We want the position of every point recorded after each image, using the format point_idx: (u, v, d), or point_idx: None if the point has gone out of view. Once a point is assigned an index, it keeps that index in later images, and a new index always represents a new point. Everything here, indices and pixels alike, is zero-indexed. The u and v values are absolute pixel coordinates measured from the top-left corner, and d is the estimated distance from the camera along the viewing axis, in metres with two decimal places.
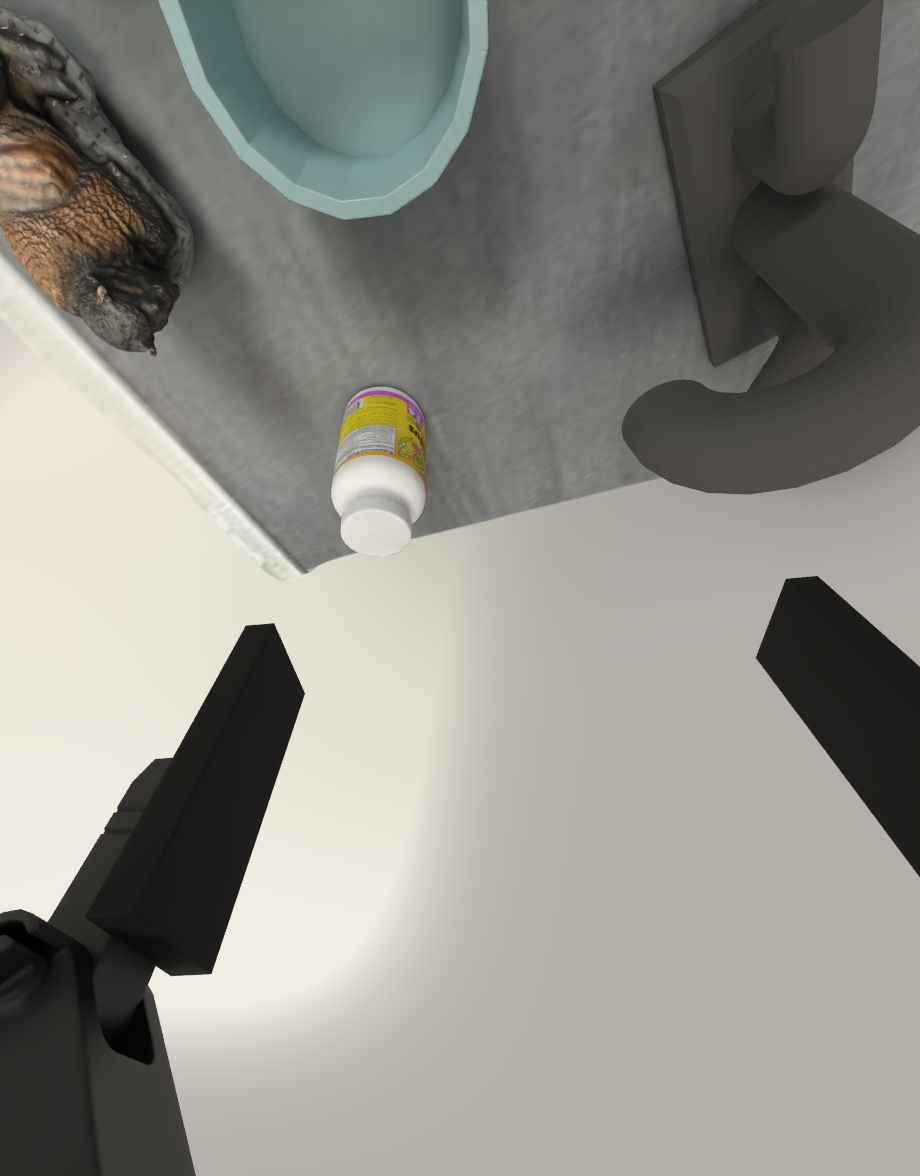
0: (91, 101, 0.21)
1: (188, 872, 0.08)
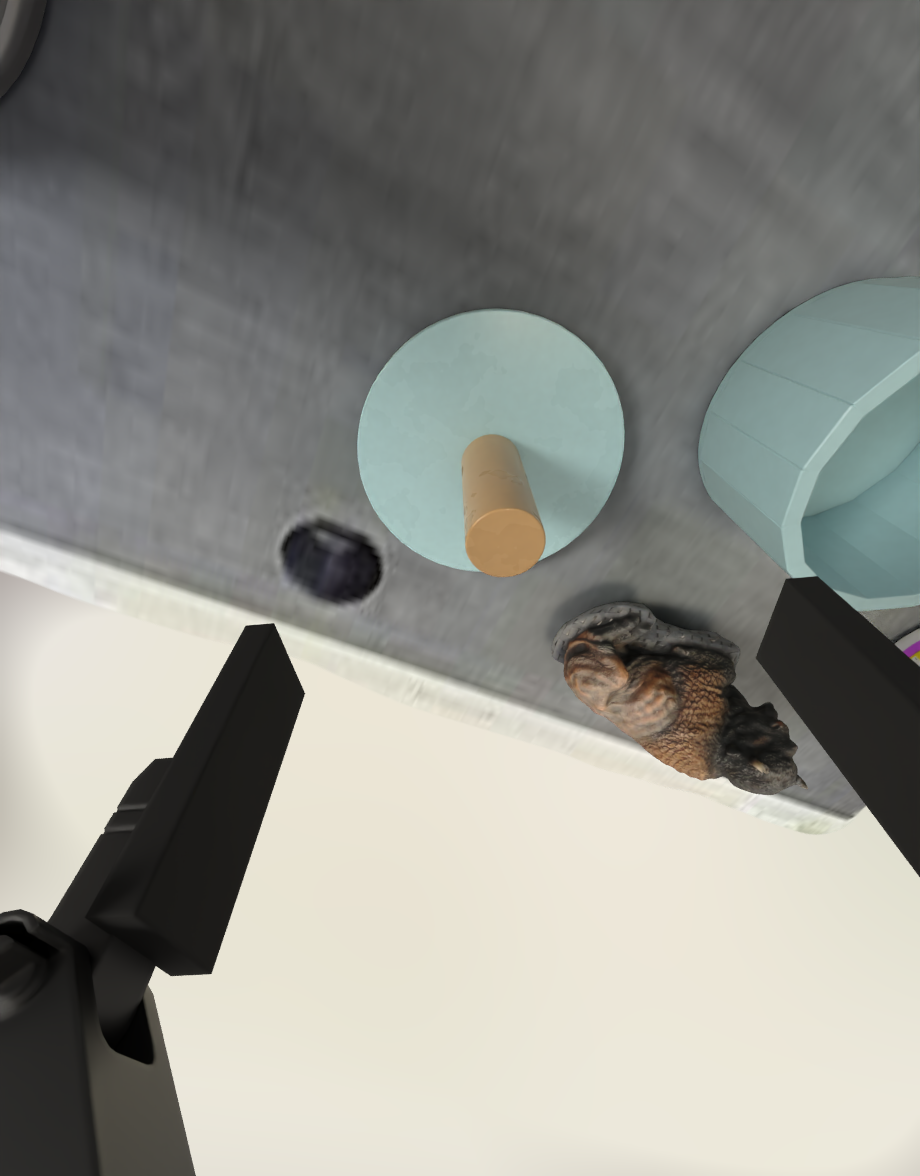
0: (654, 622, 0.26)
1: (188, 873, 0.08)
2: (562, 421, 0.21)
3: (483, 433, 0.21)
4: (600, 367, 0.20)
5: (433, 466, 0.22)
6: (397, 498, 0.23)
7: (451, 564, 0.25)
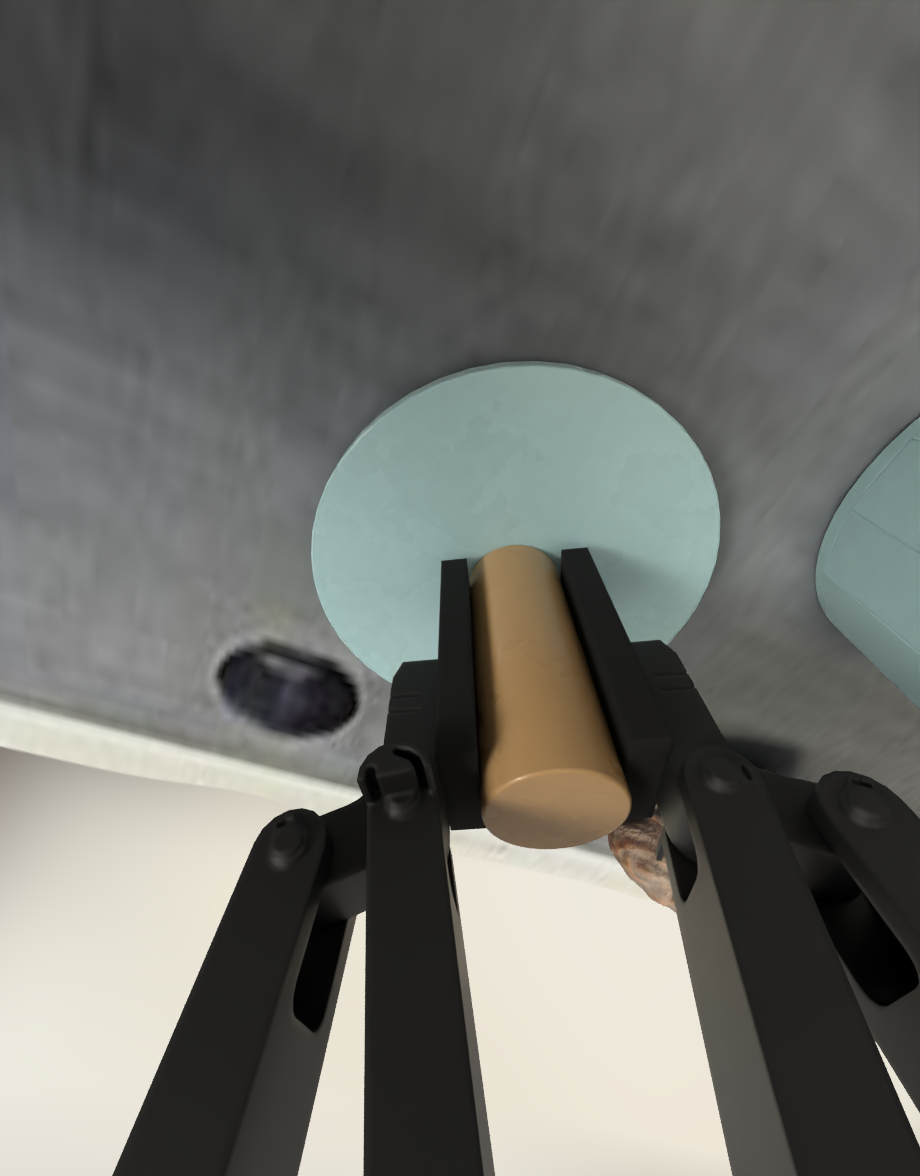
0: None
1: (477, 738, 0.10)
2: (625, 527, 0.14)
3: (503, 543, 0.14)
4: (693, 451, 0.12)
5: (427, 586, 0.15)
6: (374, 626, 0.16)
7: None
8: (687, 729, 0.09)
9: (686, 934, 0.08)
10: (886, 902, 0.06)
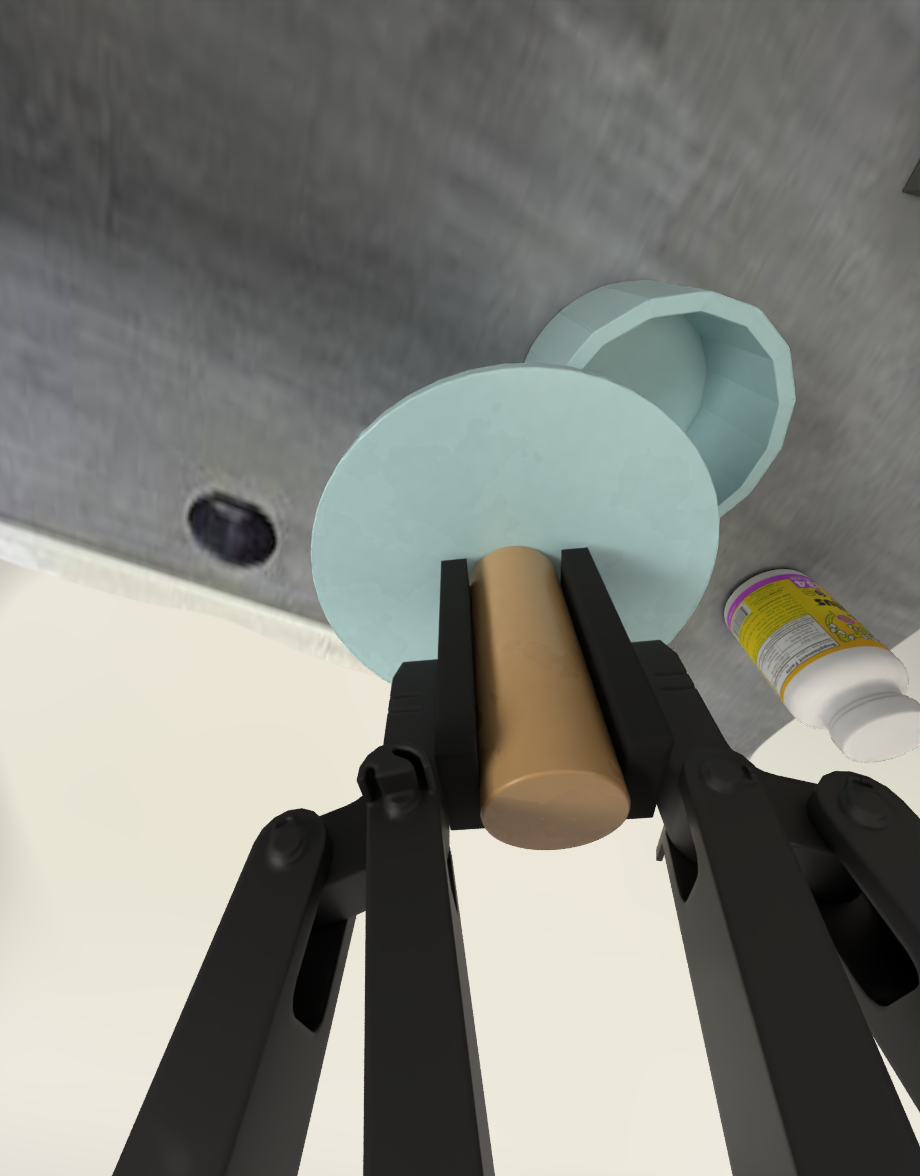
0: None
1: (477, 738, 0.10)
2: (625, 528, 0.14)
3: (503, 544, 0.14)
4: (692, 453, 0.12)
5: (427, 587, 0.15)
6: (374, 627, 0.16)
7: None
8: (687, 729, 0.09)
9: (686, 934, 0.08)
10: (886, 902, 0.06)
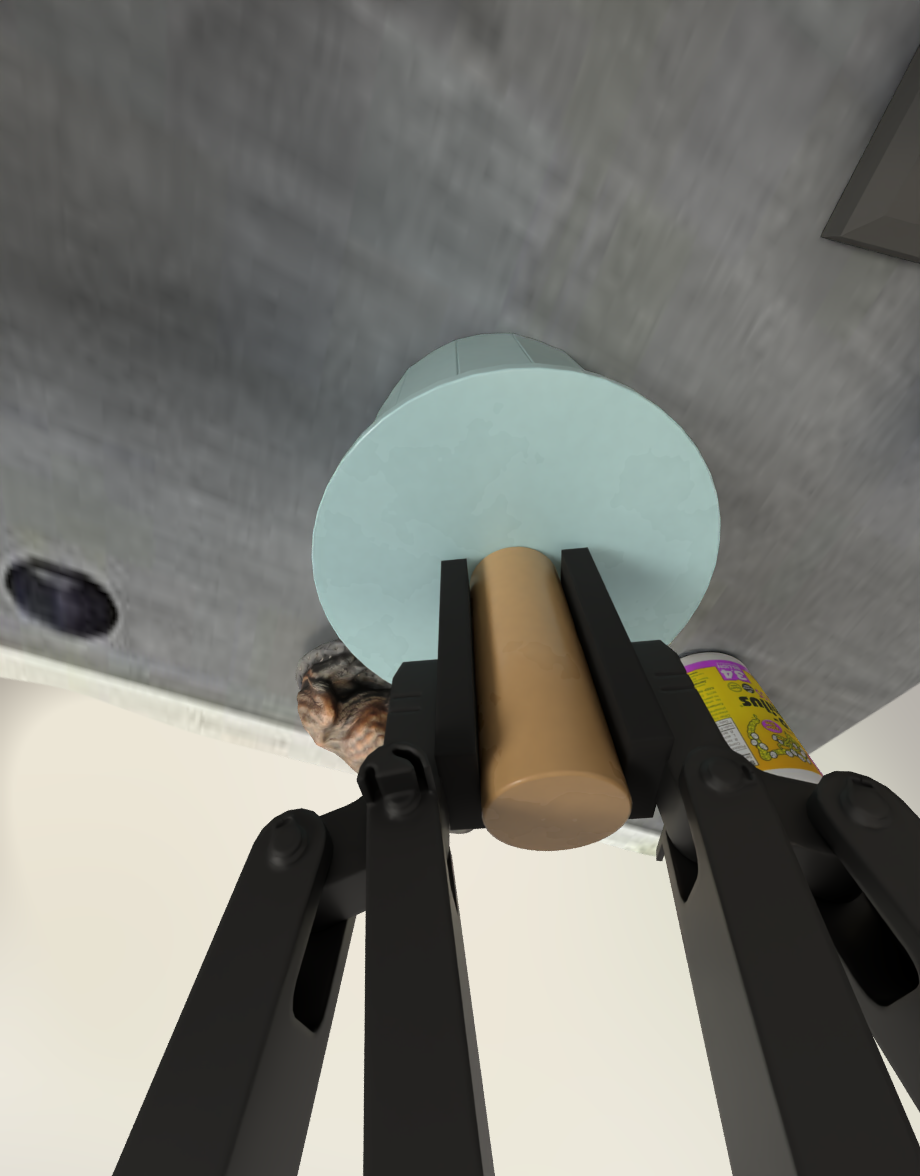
0: None
1: (477, 738, 0.10)
2: (626, 528, 0.14)
3: (504, 545, 0.14)
4: (693, 453, 0.12)
5: (427, 588, 0.15)
6: (375, 627, 0.16)
7: None
8: (687, 729, 0.09)
9: (686, 934, 0.08)
10: (886, 902, 0.06)
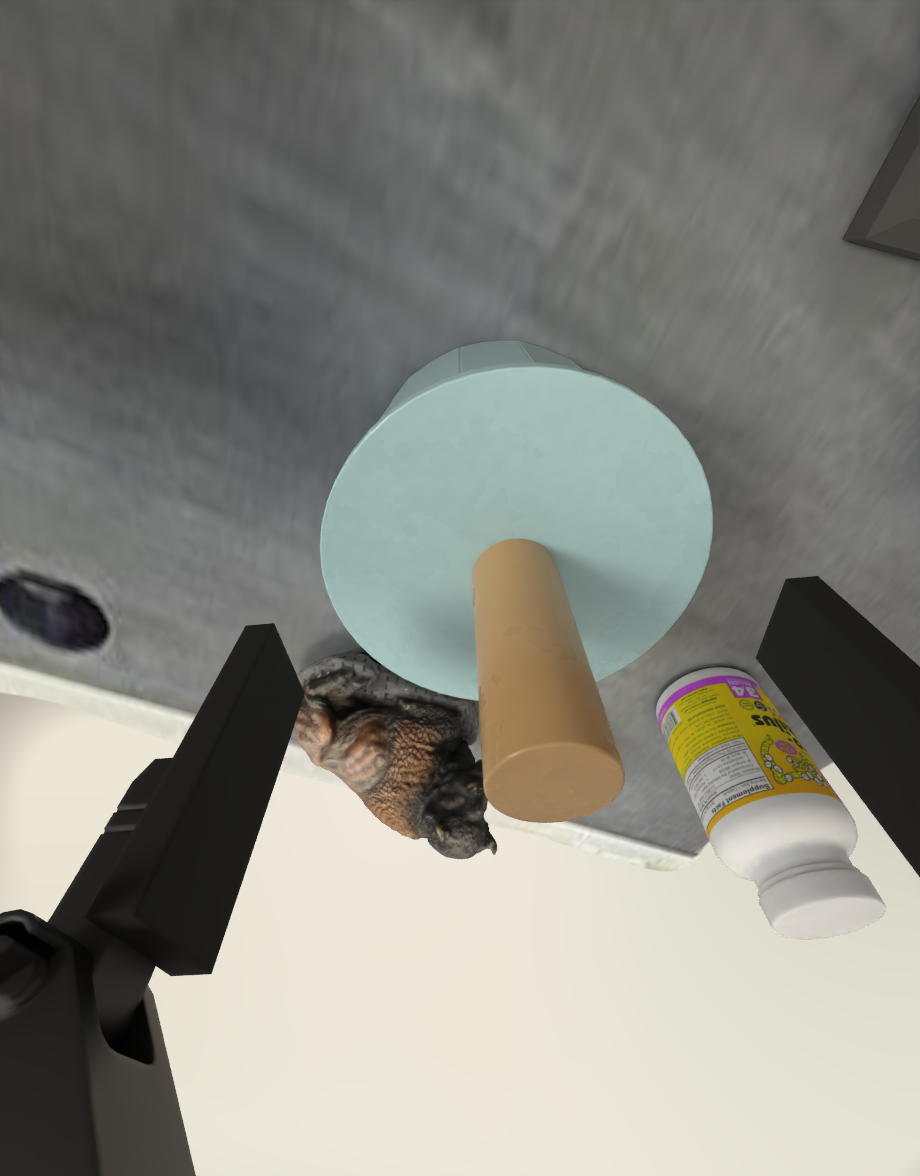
0: (374, 674, 0.26)
1: (188, 872, 0.08)
2: (622, 521, 0.14)
3: (504, 537, 0.14)
4: (686, 449, 0.13)
5: (431, 579, 0.15)
6: (380, 618, 0.16)
7: (456, 694, 0.19)
8: None
9: None
10: None
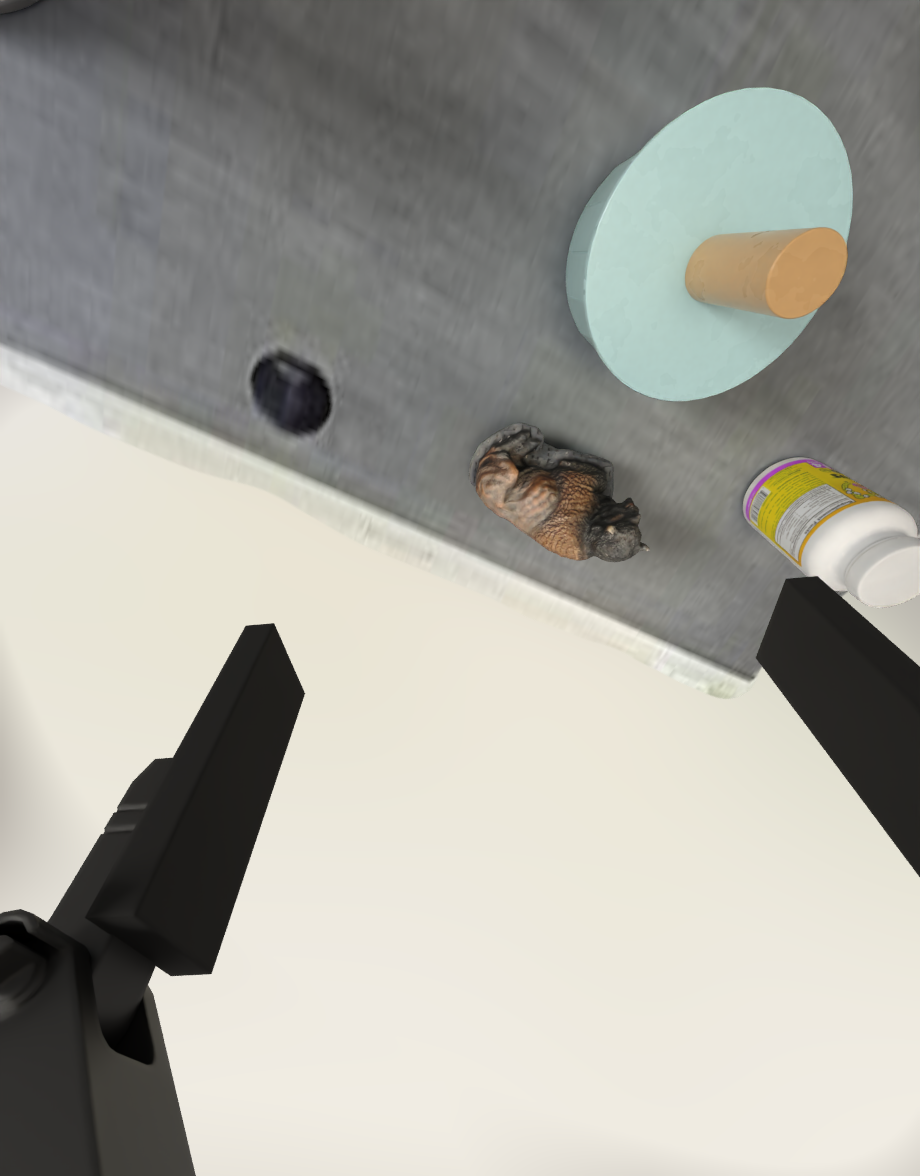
0: (543, 439, 0.33)
1: (188, 873, 0.08)
2: (792, 220, 0.22)
3: (715, 233, 0.22)
4: (843, 156, 0.21)
5: (658, 272, 0.23)
6: (614, 310, 0.24)
7: (646, 391, 0.26)
8: None
9: None
10: None
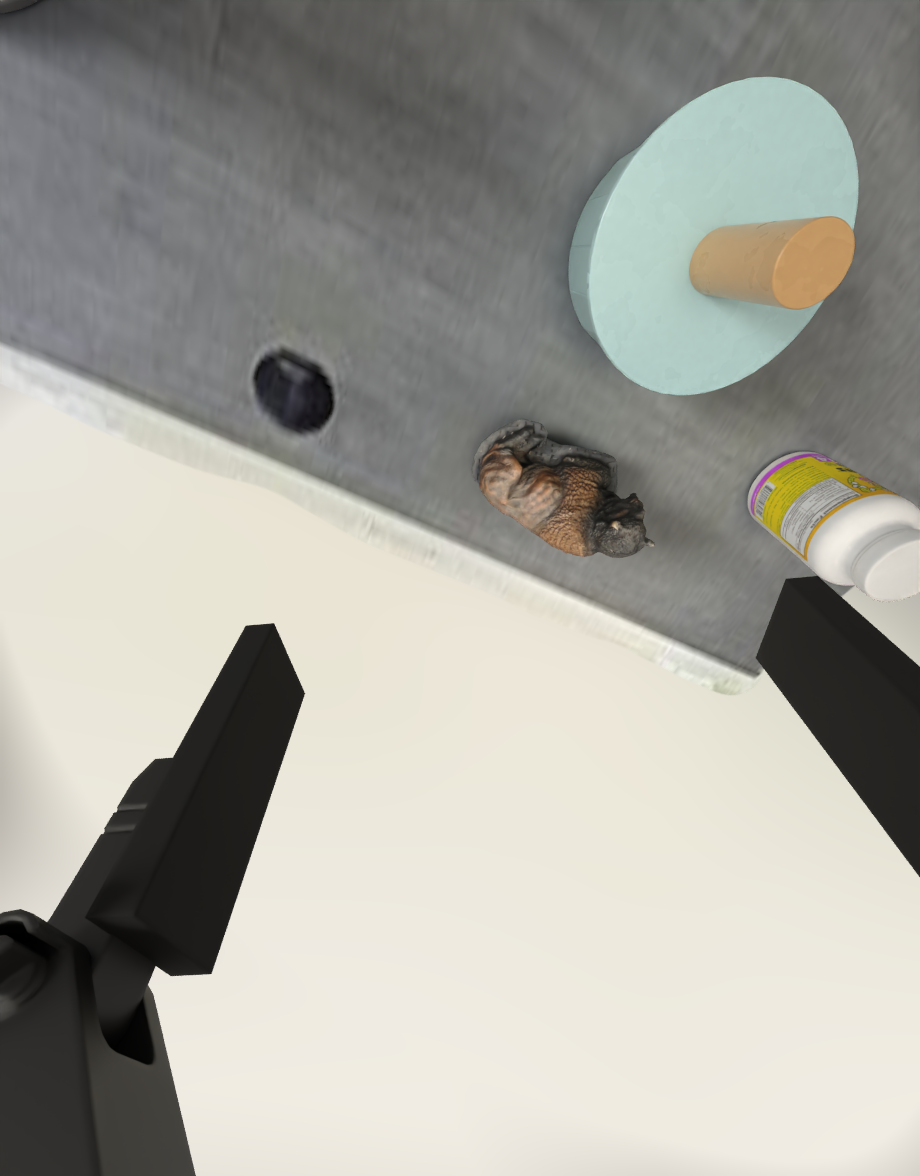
0: None
1: (187, 872, 0.08)
2: (798, 211, 0.22)
3: (719, 225, 0.22)
4: (849, 146, 0.21)
5: (662, 265, 0.23)
6: (618, 304, 0.24)
7: (651, 385, 0.26)
8: None
9: None
10: None
